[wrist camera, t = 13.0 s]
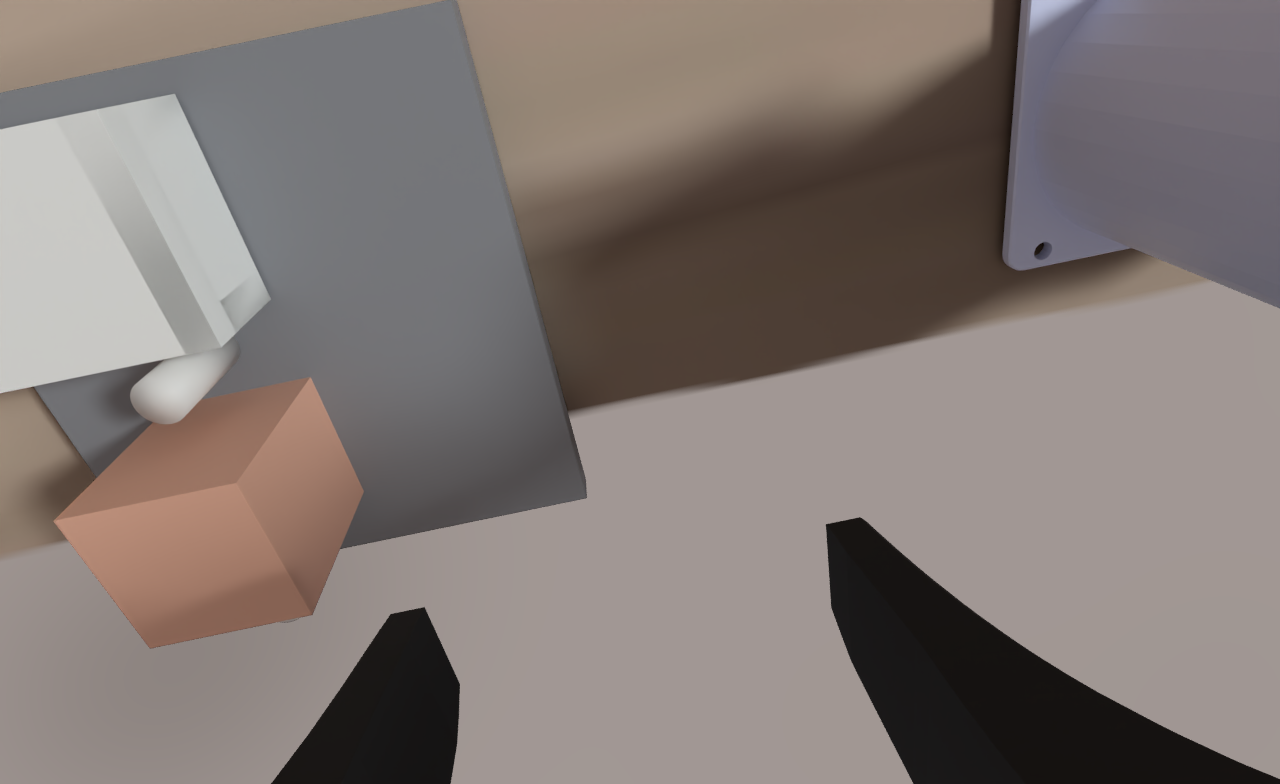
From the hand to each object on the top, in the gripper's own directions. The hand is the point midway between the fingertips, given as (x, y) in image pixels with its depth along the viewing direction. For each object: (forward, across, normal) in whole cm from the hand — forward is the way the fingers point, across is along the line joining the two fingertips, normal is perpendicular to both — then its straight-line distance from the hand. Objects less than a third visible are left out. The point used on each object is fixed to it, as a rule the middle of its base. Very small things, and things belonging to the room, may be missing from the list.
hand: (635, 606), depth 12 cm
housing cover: (+9, +11, -7) cm, 16 cm away
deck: (+10, +8, -3) cm, 13 cm away
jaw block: (+9, +10, 0) cm, 13 cm away
